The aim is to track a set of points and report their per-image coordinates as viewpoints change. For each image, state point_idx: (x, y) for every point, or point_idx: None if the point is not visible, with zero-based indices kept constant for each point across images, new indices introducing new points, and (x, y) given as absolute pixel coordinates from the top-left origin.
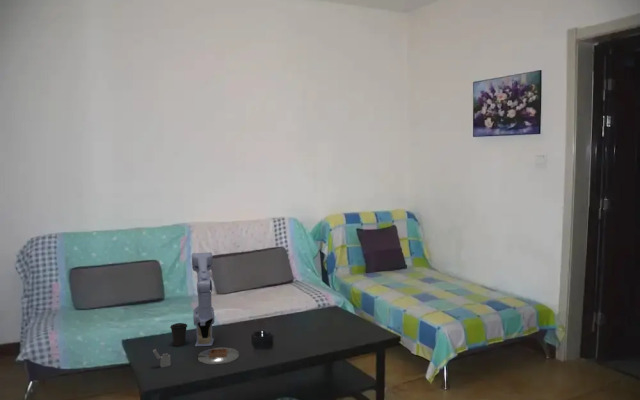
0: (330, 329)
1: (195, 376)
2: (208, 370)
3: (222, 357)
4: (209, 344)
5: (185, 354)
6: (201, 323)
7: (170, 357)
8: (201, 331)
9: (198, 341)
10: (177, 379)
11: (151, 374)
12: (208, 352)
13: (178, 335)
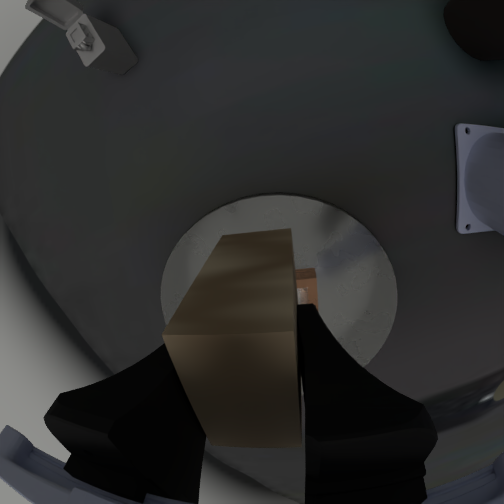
0: (447, 481)
1: (49, 255)
2: (104, 295)
3: None
4: (466, 219)
5: (315, 86)
6: (2, 452)
7: (94, 67)
8: (154, 357)
9: (218, 244)
10: (17, 193)
11: (40, 58)
12: (317, 252)
13: (479, 3)
